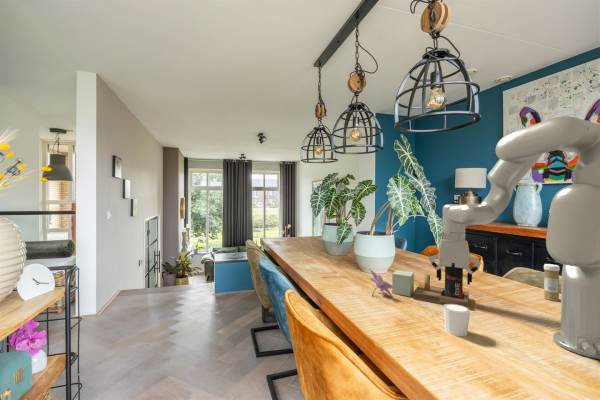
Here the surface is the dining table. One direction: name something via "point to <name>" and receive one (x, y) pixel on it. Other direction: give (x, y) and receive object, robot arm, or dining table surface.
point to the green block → (403, 283)
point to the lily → (380, 283)
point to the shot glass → (456, 319)
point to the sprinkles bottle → (551, 282)
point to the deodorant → (454, 282)
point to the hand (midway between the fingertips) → (453, 281)
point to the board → (437, 294)
